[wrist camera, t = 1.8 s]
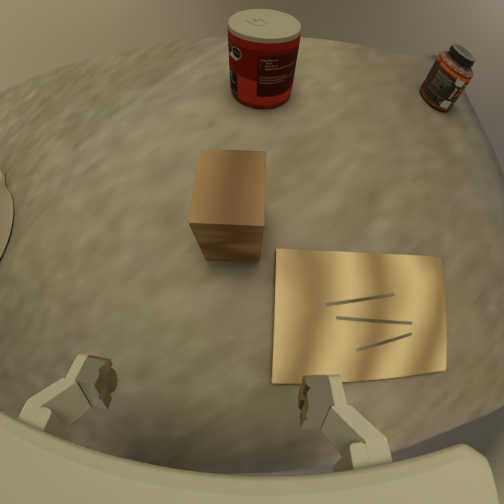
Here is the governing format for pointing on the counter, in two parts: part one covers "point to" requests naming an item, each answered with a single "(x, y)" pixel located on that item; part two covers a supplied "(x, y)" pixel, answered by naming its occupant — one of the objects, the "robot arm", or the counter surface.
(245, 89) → the canned food
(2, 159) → the counter surface
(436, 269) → the board
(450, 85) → the supplement bottle
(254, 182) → the block
